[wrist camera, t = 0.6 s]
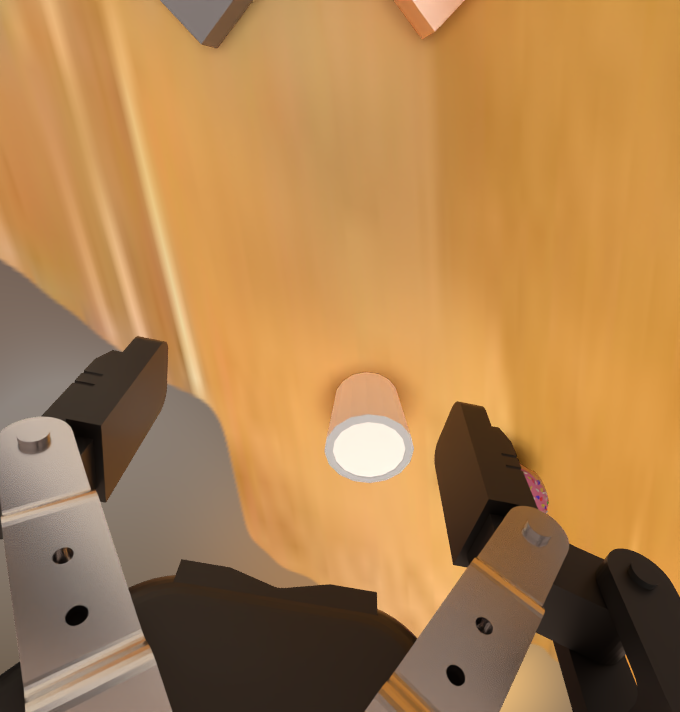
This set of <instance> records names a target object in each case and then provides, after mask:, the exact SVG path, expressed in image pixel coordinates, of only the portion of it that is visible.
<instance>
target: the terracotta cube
mask: <svg viewBox="0 0 680 712" xmlns="http://www.w3.org/2000/svg"><path fill="white" fill-rule="evenodd" d="M463 1H464V0H394V2H395V3H396V4H397V6H398V7H399V8H400V10H401V11H402V13H403V14H404V15H405V17H406V18H407V19H408V21H409V22H410V23H411V25H412V26H413V28H414V29H415V30H416V32H417V33H418V34H419V36H420V37H421V38H422V39H424V38H425V37H427V36H429V35H430V34H432V33H434V32H435V31H436V30H437V29H438V28H439V27H440V26H441V25H442V24H443V23H444V22H445V20H446V19H447V18H448V17H449V16H450V15H451V14H452V13H453V12H454V11H455V10H456V9H457V8H458V7H459V6H460V5H461V4H462V2H463Z"/></svg>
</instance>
